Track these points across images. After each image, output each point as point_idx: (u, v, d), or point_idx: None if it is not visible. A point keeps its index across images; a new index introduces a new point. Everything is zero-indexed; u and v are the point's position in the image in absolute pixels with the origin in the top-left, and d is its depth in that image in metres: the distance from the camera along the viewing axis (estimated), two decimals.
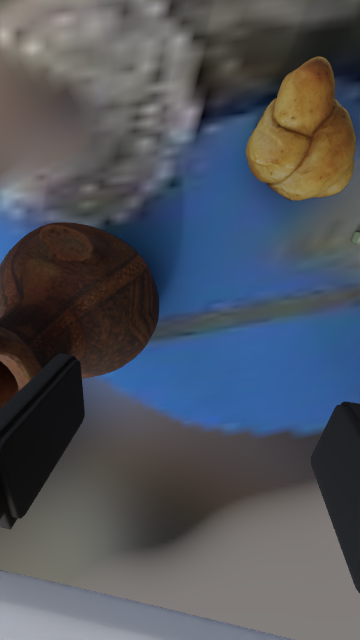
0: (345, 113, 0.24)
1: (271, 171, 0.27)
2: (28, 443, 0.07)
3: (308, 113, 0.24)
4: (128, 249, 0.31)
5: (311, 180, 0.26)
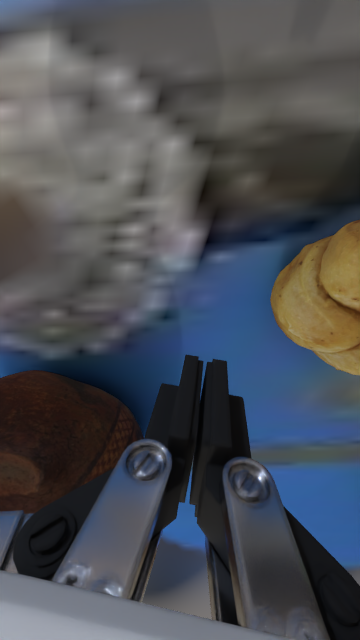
0: None
1: (311, 346, 0.18)
2: None
3: None
4: (103, 422, 0.23)
5: None
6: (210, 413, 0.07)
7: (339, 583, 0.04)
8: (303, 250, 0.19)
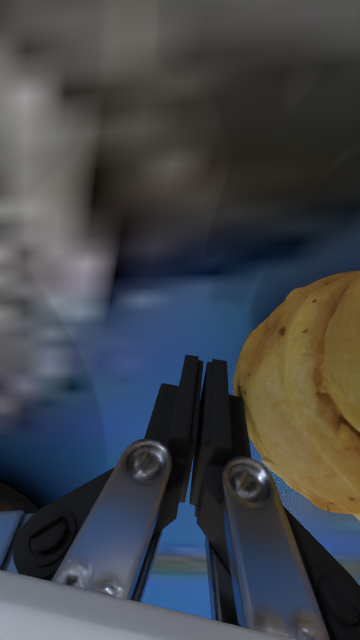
0: None
1: None
2: None
3: None
4: None
5: None
6: (210, 413, 0.07)
7: (339, 583, 0.04)
8: (288, 300, 0.10)
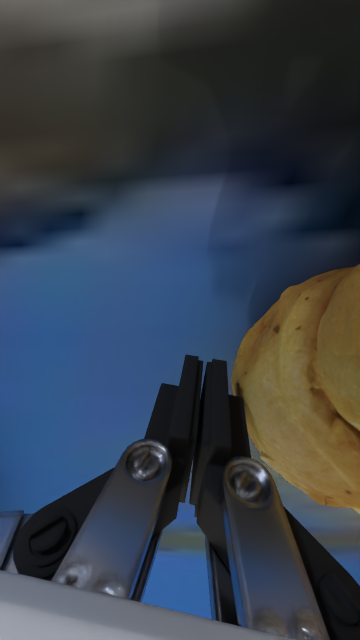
0: None
1: None
2: None
3: None
4: None
5: None
6: (210, 413, 0.07)
7: (339, 583, 0.04)
8: (283, 298, 0.10)
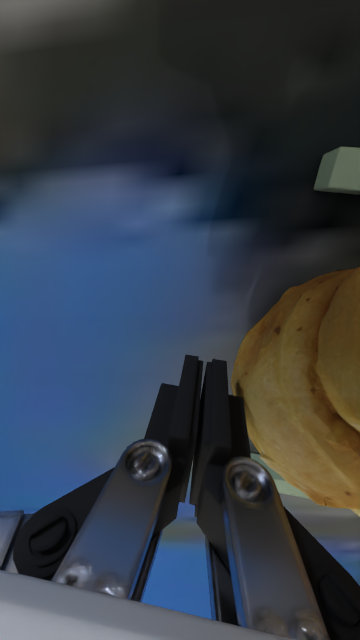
0: None
1: None
2: None
3: None
4: None
5: None
6: (210, 413, 0.07)
7: (339, 583, 0.04)
8: (284, 299, 0.10)
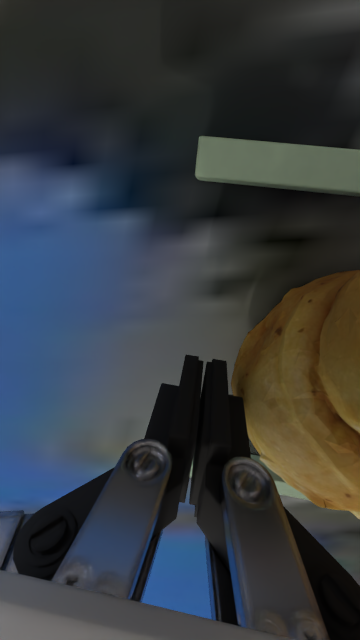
0: None
1: None
2: None
3: None
4: None
5: None
6: (210, 413, 0.07)
7: (339, 583, 0.04)
8: (285, 300, 0.10)
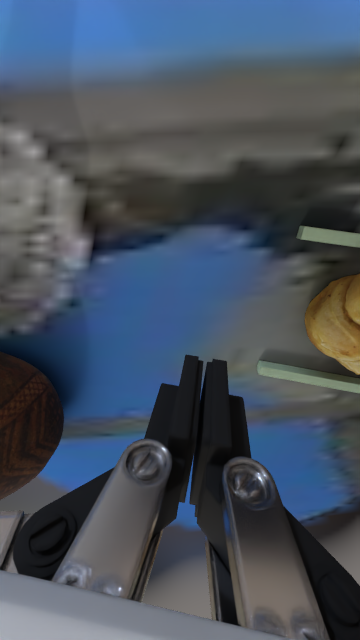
0: None
1: (338, 356, 0.25)
2: None
3: None
4: (14, 381, 0.30)
5: None
6: (210, 413, 0.07)
7: (339, 583, 0.04)
8: (330, 285, 0.25)
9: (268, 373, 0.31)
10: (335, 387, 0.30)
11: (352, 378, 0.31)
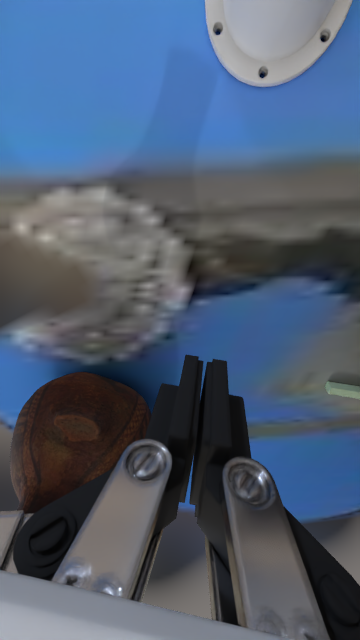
0: None
1: None
2: None
3: None
4: (129, 404, 0.36)
5: None
6: (210, 413, 0.07)
7: (339, 583, 0.04)
8: None
9: (337, 393, 0.37)
10: None
11: None
